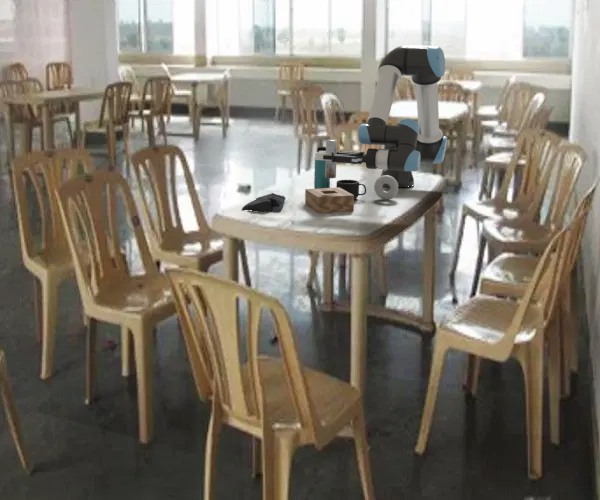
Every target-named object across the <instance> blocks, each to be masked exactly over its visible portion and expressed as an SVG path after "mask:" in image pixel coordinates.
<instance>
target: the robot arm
mask: <svg viewBox="0 0 600 500" xmlns="http://www.w3.org/2000/svg"><path fill="white" fill-rule="evenodd" d="M445 72H446V58H445V53H444V51H443V49H442V48H441V47H440V46H434V45H400V46H396V47H395V48H393V49H392V50H390V51H389V52H388V53H387V54H386V55H385V56H384V57H383V59H382V60H381V62H380V63H379V66H378V68H377V77H378V79H377V83H376V85H375V86H376V87H375V91H374V94H373V98H372V101H371V106H370V110H369V114H368V117H367V121H366V123H361V124H360V125H359V127H358V131H357V139H358V142H359V143H360V144H361V145H369V146H371V145H373V146H374V145H376V146H383V147H384V148H379V149H378V148H372V147H371V148H367V150H366V152H365V151H342V150H339V151H337V152H336V154H333V152H332V153H326V151H319V152H315V154H314V155H315V156H314V161H315V160H324V161H332V162H336V163H341V164H355V165H362V164H365V167H366V169H370V170H377V169H378V170H382V171H381V174H380V176H379V177H381V176H383V175H388V176H391V177H393V178H394V179H395V180H396V181H397V183H398V187H407V188H409V187H408V186H412V185H415V179H414V175H413V173H412V172H417V171H418V170H420V165H421V163H423V164H424V163H425V164H442V163H443V161H444V158H445V154H446V150H447V143H448V137H447V136H446V135H444V132H443V131H442V130H441V129H440V124H439V123H440V119H439V117H440V116H439V89H438V83H439V82H440V81H441V79H442V77H444V76H445ZM402 76H407V77H408V76H409V77H411V81H412V83H414V85H415V90H416V91H415V92H416V107H417V108H416V109H417V110H416V111H417V121H415V120H414V119H411V118H405V119H401V120H400V121H399V124H398V125H397V124H396V125H394V124H393V125H392V124H391V125H390V124H388V121H389V118H390V117H389V116H390V114H391V110H392V106H393V102H394V98H395V93H396V89H397V85H398V82H399V81H400V80H402ZM412 187H413V186H412ZM383 188H390V186H389V184H384V185H383Z"/></svg>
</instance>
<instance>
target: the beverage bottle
mask: <svg viewBox="0 0 600 500" xmlns="http://www.w3.org/2000/svg"><path fill="white" fill-rule="evenodd" d="M316 149H317V150H316V153H319V151H326V146H317V148H316ZM325 172H326V161H324V160H315V159H314V173H313V174H314V177H313V179H314V181H313V185H314V186H313V188H314V189H319V188H331V178H326V177H325Z"/></svg>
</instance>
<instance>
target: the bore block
mask: <svg viewBox="0 0 600 500" xmlns="http://www.w3.org/2000/svg"><path fill="white" fill-rule="evenodd" d="M304 199H305V201H304V204H305V205H306V206H307V207H308V208H310V209H311V210H313V211H315V212H316V213H317V214H323V213H325V214H326V213H327V214H329V213H341V212H353V211H355V210H354V209H355V208H354V207H355V199H354V195H353V194H351V193H349V192H347V191H345V190H343V189H341V188H339V187H338V188H336V187H330V188H319V189H315V188H305V195H304Z"/></svg>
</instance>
